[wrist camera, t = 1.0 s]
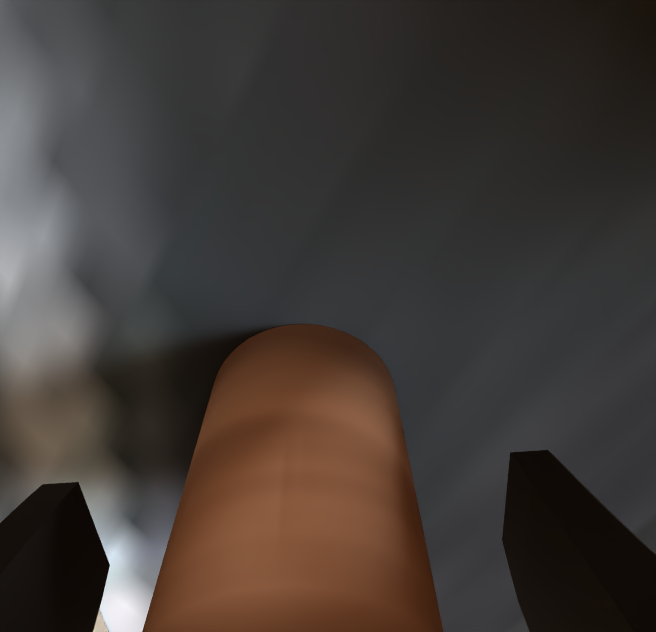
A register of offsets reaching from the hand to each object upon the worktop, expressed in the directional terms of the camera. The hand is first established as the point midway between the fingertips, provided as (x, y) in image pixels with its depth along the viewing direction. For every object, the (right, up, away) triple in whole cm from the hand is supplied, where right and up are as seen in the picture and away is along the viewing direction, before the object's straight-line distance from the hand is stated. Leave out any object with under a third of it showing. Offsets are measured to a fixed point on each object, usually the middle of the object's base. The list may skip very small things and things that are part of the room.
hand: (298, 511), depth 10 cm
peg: (0, +1, +3) cm, 3 cm away
